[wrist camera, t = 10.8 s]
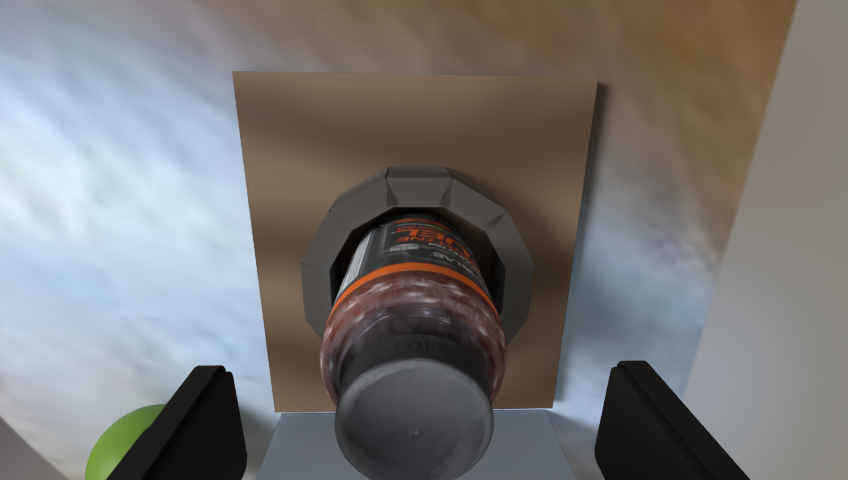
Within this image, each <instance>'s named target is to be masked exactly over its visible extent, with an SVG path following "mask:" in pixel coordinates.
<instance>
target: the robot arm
mask: <svg viewBox="0 0 848 480" xmlns="http://www.w3.org/2000/svg"><path fill="white" fill-rule="evenodd" d="M595 458H596V461H597V464H598V466H599V468H600V470H601V472H602V474H603V476H604V478H605V480H750V479H749V478H748V477H747V475H746V474H745V473H744V472H743V471H742V470H741V469H740V468H739V466H738V465H737V464H736V463H735V462H734V461H733V459H732V458H731V457H730V456H729V455H728V454H727V453H726V451H725V450H724V449H723V448H722V447H721V446H720V445H719V443H718V442H717V441H716V440H715V439H714V438H713V437H712V435H711V434H710V433H709V432H708V431H707V430H706V429H705V427H704V426H703V425H702V424H701V423H700V422H699V421H698V420H697V418H696V417H695V416H694V415H693V414H692V413H691V412H690V410H689V409H688V408H687V407H686V406H685V405H684V404H683V402H682V401H681V400H680V399H679V398H678V397H677V396H676V394H675V393H674V392H673V391H672V390H671V389H670V388H669V386H668V385H667V384H666V383H665V382H664V381H663V380H662V378H661V377H660V376H659V375H658V374H657V373H656V372H655V370H654V369H653V368H652V367H651V366H650V365H649V364H648V363H647V362H646V361H620V362H619V363H618V364H617V367H613V368H612V369H611V372H610V377H609V381H608V386H607V391H606V396H605V401H604V405H603V410H602V415H601V420H600V425H599V430H598V434H597V439H596V444H595ZM246 465H247V452H246V446H245V440H244V435H243V429H242V423H241V418H240V412H239V407H238V401H237V395H236V390H235V384H234V379H233V374H232V373H231V372H226V369H225V368H224V366H221V365H215V366H197V367H195V368H194V369H193V370H192V372H191V373H190V374H189V376H188V377H187V378H186V380H185V381H184V382H183V383H182V385H181V386H180V387H179V389H178V390H177V391H176V393H175V394H174V395H173V397H172V398H171V399H170V400H169V402H168V403H167V404H166V406H165V407H164V408H163V410H162V411H161V412H160V414H159V415H158V416H157V417H156V419H155V420H154V421H153V423H152V424H151V425H150V427H148V428H146V429H145V430H144V431H143V432H142V434H141V435H140V436H139V437H138V439H137V440H136V441H135V442H134V444H133V445H132V446H131V448H130V449H129V450H128V452H127V453H126V454H125V455H124V457H123V458H122V459H121V461H120V462H119V463H118V464H117V466H116V467H115V468H114V470H113V471H112V472H111V474H110V475H109V476H108V477H107V479H106V480H241V479H242V477H243V475H244V472H245V469H246Z"/></svg>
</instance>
